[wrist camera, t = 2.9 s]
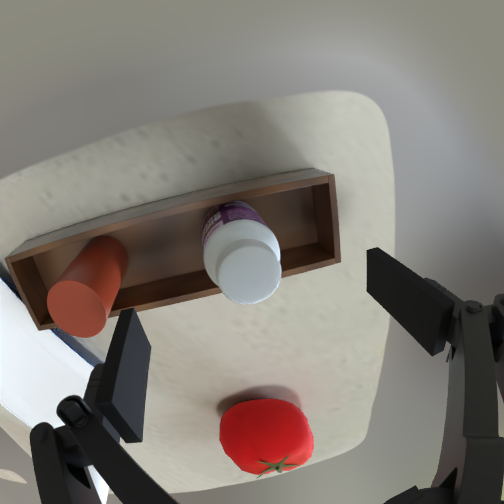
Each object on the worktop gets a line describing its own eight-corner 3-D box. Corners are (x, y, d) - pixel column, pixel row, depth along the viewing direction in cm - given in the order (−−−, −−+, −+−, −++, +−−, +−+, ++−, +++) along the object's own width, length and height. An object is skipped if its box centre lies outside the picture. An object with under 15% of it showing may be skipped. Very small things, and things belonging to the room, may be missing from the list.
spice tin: (97, 225, 24) (60, 267, 16) (137, 254, 26) (117, 306, 18) (76, 263, 25) (39, 314, 17) (114, 289, 27) (91, 348, 19)
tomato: (234, 375, 34) (249, 444, 25) (316, 390, 38) (344, 446, 29) (201, 425, 37) (208, 485, 28) (277, 435, 41) (294, 487, 32)
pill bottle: (202, 197, 25) (208, 231, 17) (263, 200, 27) (299, 235, 18) (198, 255, 27) (203, 314, 19) (256, 257, 28) (285, 313, 20)
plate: (55, 434, 34) (52, 443, 32) (-49, 344, 25) (-55, 352, 23) (134, 385, 32) (132, 397, 30) (-5, 255, 23) (-14, 263, 21)
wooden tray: (313, 167, 27) (334, 174, 23) (322, 245, 30) (341, 262, 26) (24, 241, 24) (4, 258, 20) (53, 307, 27) (38, 331, 23)
